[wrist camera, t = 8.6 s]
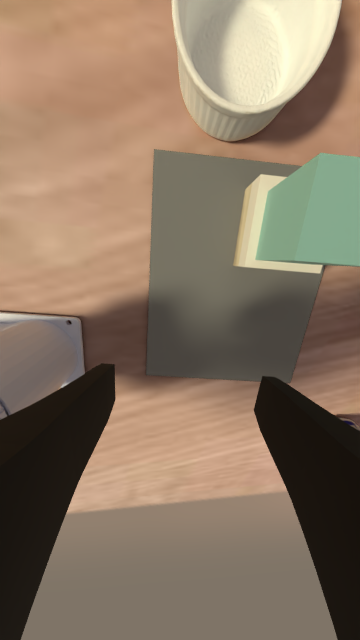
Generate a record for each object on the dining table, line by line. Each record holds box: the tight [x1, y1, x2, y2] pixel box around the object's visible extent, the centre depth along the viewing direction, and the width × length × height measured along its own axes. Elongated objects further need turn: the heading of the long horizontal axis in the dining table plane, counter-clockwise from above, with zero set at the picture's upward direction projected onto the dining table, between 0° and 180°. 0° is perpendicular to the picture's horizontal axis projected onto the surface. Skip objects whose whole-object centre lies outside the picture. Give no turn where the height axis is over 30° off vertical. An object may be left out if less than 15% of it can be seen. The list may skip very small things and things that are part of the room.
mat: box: [146, 149, 325, 383], centre depth 18 cm, size 16×20×1 cm
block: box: [255, 153, 360, 267], centre depth 12 cm, size 4×4×5 cm
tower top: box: [238, 174, 323, 274], centre depth 15 cm, size 6×6×2 cm
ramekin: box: [172, 0, 342, 141], centre depth 12 cm, size 9×9×4 cm
